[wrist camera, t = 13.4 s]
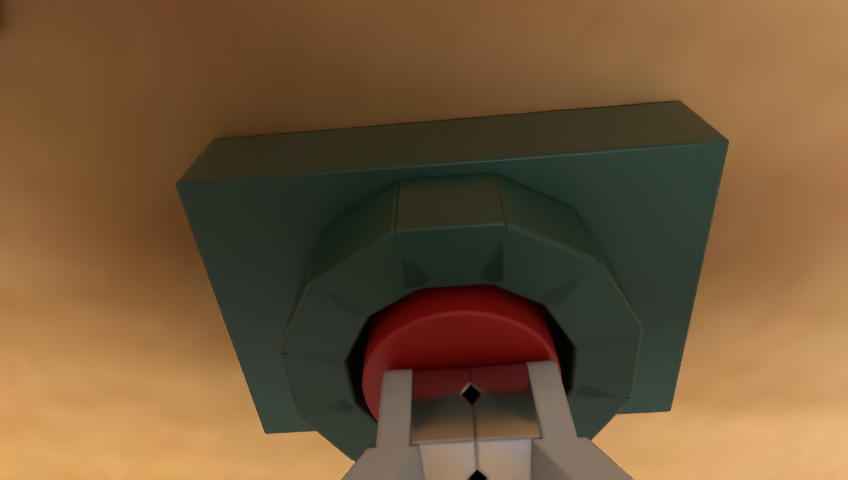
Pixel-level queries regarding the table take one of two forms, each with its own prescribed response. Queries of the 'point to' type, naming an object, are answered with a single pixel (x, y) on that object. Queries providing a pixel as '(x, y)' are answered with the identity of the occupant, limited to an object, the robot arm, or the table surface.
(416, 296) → the button
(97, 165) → the table surface
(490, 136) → the button block
